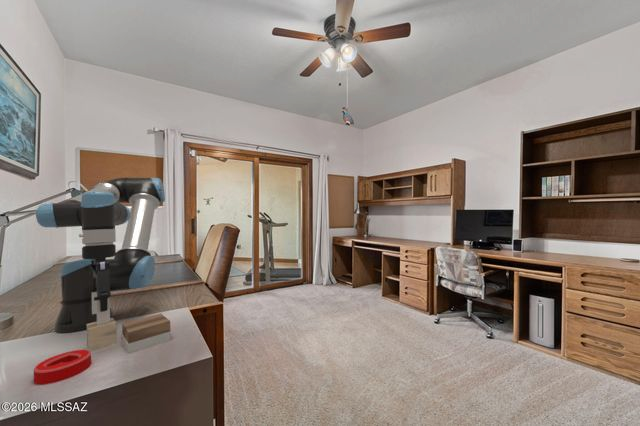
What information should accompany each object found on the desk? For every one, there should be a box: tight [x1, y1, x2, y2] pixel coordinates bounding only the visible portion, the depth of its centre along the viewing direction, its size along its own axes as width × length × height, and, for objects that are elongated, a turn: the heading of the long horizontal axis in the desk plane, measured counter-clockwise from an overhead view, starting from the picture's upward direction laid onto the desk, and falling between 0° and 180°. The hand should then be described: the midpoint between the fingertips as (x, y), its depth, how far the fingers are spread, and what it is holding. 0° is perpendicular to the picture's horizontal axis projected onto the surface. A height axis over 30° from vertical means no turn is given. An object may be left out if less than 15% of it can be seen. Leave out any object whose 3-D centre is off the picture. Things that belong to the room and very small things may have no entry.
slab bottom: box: [120, 331, 171, 355], centre depth 75 cm, size 10×10×3 cm
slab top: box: [121, 313, 171, 344], centre depth 76 cm, size 10×10×3 cm
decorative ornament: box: [33, 349, 92, 386], centre depth 61 cm, size 10×10×3 cm
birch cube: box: [86, 317, 118, 352], centre depth 75 cm, size 6×6×6 cm
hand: (100, 317), depth 75 cm, fingers open, 13 cm apart
